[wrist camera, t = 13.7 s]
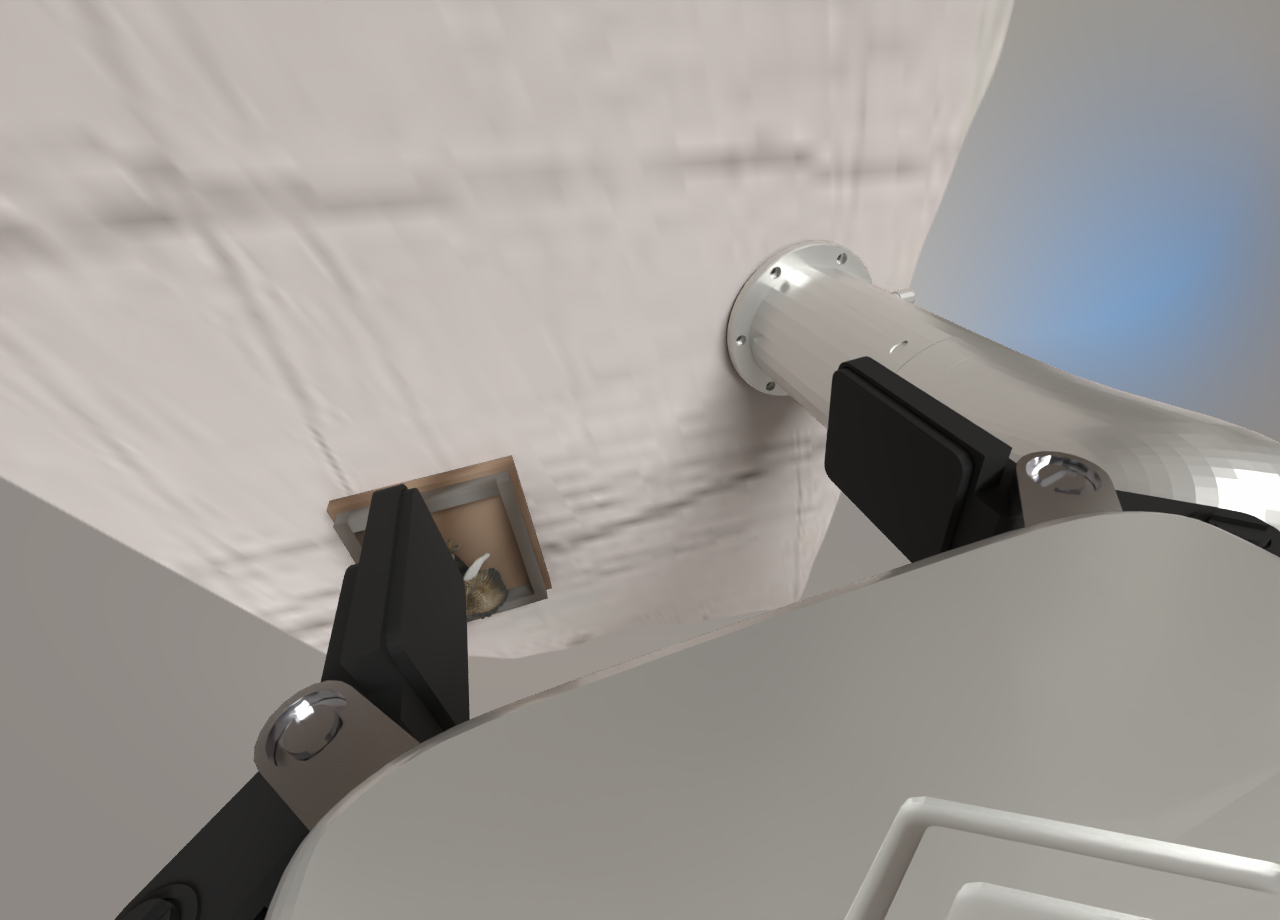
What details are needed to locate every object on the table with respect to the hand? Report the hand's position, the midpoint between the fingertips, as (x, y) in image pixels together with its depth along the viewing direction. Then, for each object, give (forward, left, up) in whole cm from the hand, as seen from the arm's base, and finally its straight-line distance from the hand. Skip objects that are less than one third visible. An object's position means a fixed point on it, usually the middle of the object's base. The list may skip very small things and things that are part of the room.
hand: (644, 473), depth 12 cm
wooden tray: (+12, +24, -28) cm, 39 cm away
